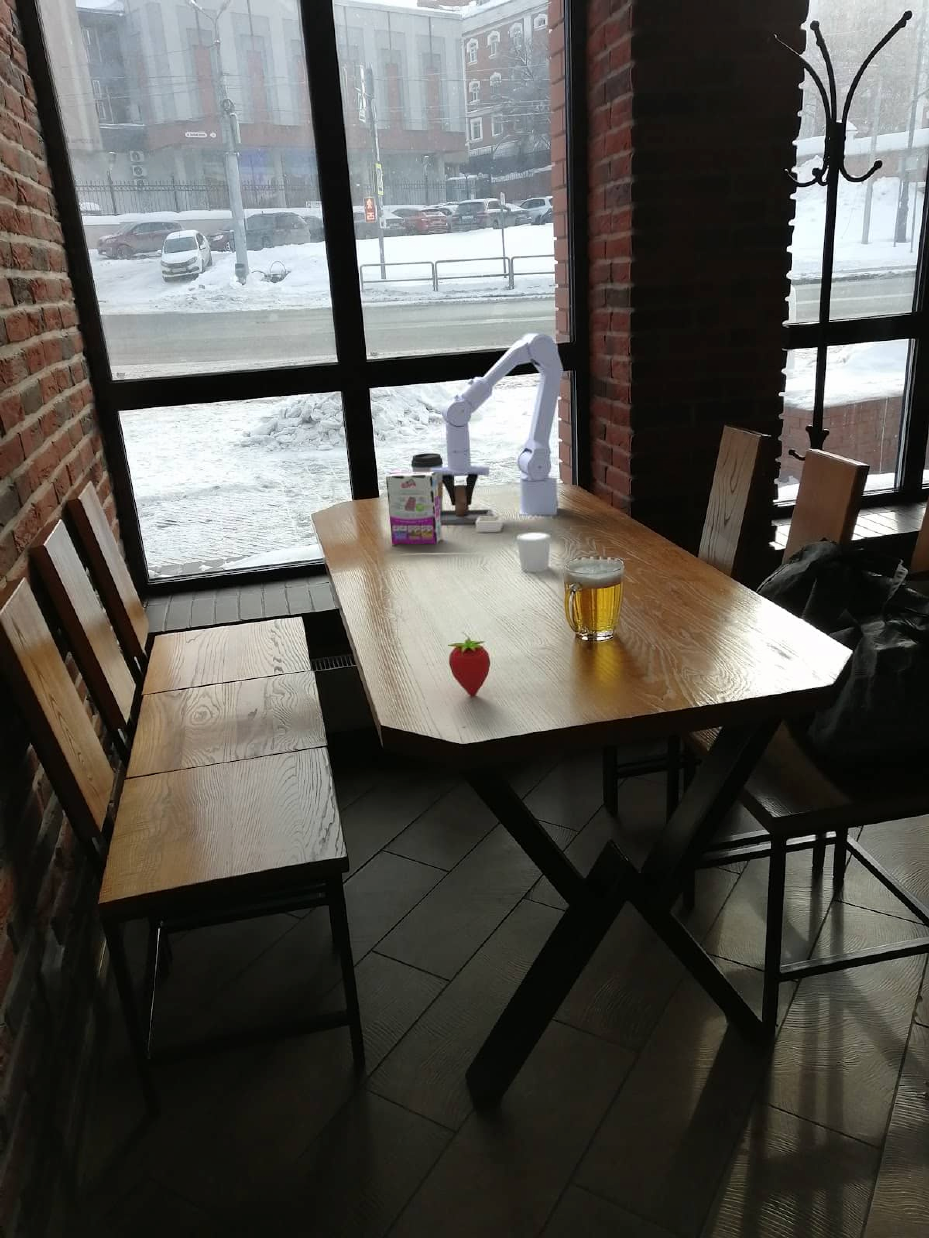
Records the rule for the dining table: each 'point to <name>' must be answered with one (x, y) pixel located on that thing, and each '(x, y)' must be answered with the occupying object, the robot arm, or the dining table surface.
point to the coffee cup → (429, 468)
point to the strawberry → (469, 665)
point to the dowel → (461, 501)
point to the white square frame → (489, 524)
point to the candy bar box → (414, 507)
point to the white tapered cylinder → (534, 551)
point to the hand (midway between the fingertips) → (461, 504)
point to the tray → (450, 517)
